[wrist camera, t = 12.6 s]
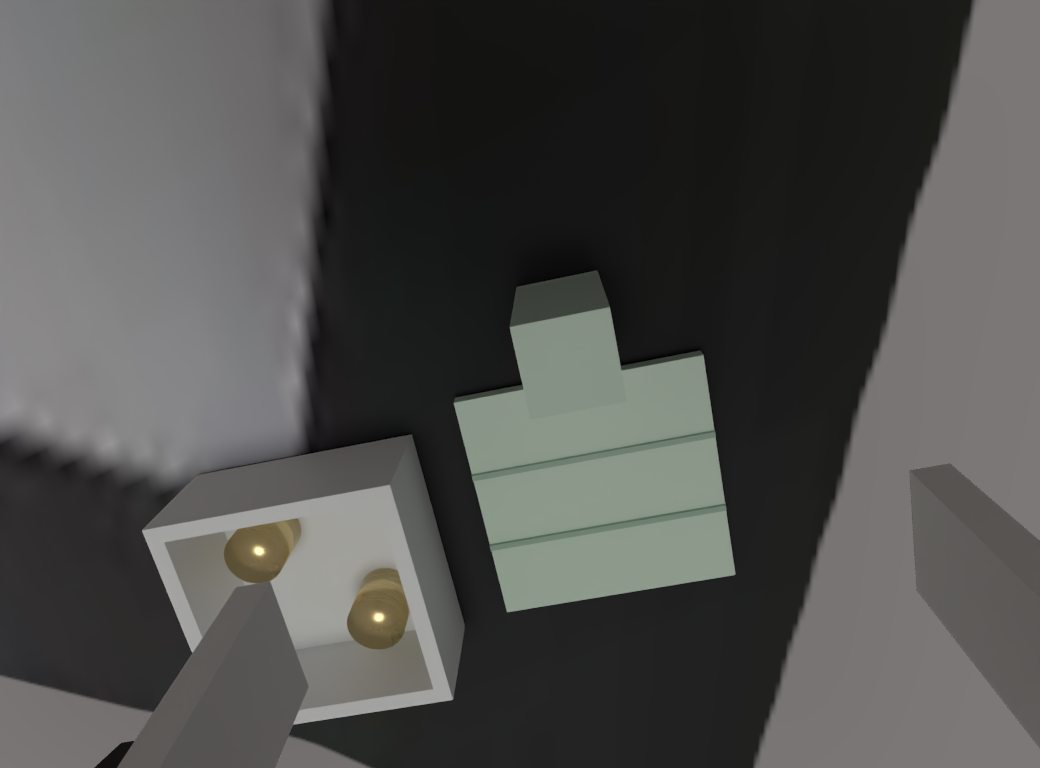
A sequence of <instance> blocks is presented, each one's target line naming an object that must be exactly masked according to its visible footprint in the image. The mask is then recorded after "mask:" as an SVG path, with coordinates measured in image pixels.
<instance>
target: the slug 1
mask: <svg viewBox="0 0 1040 768" xmlns="http://www.w3.org/2000/svg"><path fill="white" fill-rule="evenodd" d="M300 536H301V525H300V522H299V520H298V518H296V519H290V520H285V521H279V522H274V523H268V524H263V525H257V526H252V527H246V528H241V529H237V530H236V531H235V533H234V534H233V535H232V536H231V538H230V539H229V540H228V542H227V543H226V546H225V549H224V559H225V563H226V565H227V567H228V568H229V570H230V571H231V572H232V573H233V574H234V575H235V576H236V577H238V578H239V579H241V580H243V581H246V582H249V583H264V582H268V581H271V580H273V579H274V578H275V577H276V576H277V575H278V574H279V573H280V572H281V570H282V568H283V566H284V565H285V563H286V561H287V560H288V558H289V556H290V555H291V553H292V551H293V550H294V548H295V546H296V545H297V543H298V541H299V539H300Z"/></svg>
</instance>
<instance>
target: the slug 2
mask: <svg viewBox="0 0 1040 768" xmlns="http://www.w3.org/2000/svg"><path fill="white" fill-rule="evenodd" d="M409 613H410V610H409V606H408V603H407V600H406V596H405V593H404V590H403V586H402V583H401V580H400V576H399V573H398V571H397V570H395V569H390V568H380V569H376V570H373V571H371V572H370V573H368V574H367V575H366V576H365V577H364V579H363V580H362V583H361V585H360V587H359V590H358V592H357V595H356V597H355V600H354V602H353V605H352V607H351V610H350V612H349V615H348V618H347V628H348V631H349V633H350V635H351V636H352V638H353V639H354V640H355V641H356V642H357V643H359V644H360V645H362V646H364V647H367V648H370V649H386V648H389V647H392V646H394V645H395V644H397V643H398V642H399V641H400V639H401V638H402V636H403V634H404V631H405V627H406V624H407V620H408V617H409Z"/></svg>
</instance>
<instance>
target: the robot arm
mask: <svg viewBox="0 0 1040 768" xmlns="http://www.w3.org/2000/svg"><path fill="white" fill-rule="evenodd" d="M909 473H910V489H911V505H912V522H913V538H914V555H915V570H916V586H917V591H918V593H919V594H920V595H921V596H922V598H923V599H924V600H925V602H926V603H927V604H928V606H929V607H930V608H931V609H932V611H933V612H934V613H935V615H936V616H937V617H938V618H939V620H940V621H941V622H942V624H943V625H944V626H945V627H946V629H947V630H948V631H949V632H950V634H951V635H952V636H953V638H954V639H955V640H956V642H957V643H958V644H959V645H960V647H961V648H962V649H963V651H964V652H965V653H966V654H967V656H968V657H969V658H970V659H971V661H972V662H973V663H974V665H975V666H976V667H977V668H978V670H979V671H980V672H981V674H982V675H983V676H984V677H985V679H986V680H987V681H988V682H989V684H990V685H991V686H992V688H993V689H994V690H995V691H996V693H997V694H998V695H999V697H1000V698H1001V699H1002V700H1003V702H1004V703H1005V704H1006V706H1007V707H1008V708H1009V710H1010V711H1011V712H1012V713H1013V715H1014V716H1015V717H1016V719H1017V720H1018V721H1019V722H1020V724H1021V725H1022V726H1023V727H1024V729H1025V730H1026V731H1027V732H1028V734H1029V735H1030V737H1031V738H1032V739H1033V740H1034V742H1035V743H1036V744H1037V745H1038V747H1039V748H1040V541H1039V540H1038V539H1037V538H1036V537H1035V536H1033V535H1032V534H1031V533H1030V532H1029V531H1028V530H1027V529H1025V528H1024V527H1023V526H1022V525H1021V524H1019V523H1018V522H1017V521H1016V520H1015V519H1014V518H1013V517H1011V516H1010V515H1009V514H1008V513H1007V512H1006V511H1004V510H1003V509H1002V508H1001V507H1000V506H999V505H998V504H996V503H995V502H994V501H993V500H992V499H991V498H989V497H988V496H987V495H986V494H985V493H984V492H982V491H981V490H980V489H979V488H978V487H977V486H975V485H974V484H973V483H972V482H971V481H970V480H969V479H967V478H966V477H965V476H964V475H963V474H961V473H960V472H959V471H958V470H957V469H956V468H955V467H953V466H952V465H951V464H945V465H939V466H933V467H927V468H921V469H916V470H910V472H909ZM308 687H309V686H308V683H307V680H306V678H305V675H304V672H303V669H302V667H301V664H300V661H299V659H298V656H297V653H296V650H295V648H294V645H293V642H292V639H291V637H290V634H289V631H288V629H287V626H286V623H285V620H284V618H283V615H282V612H281V609H280V607H279V604H278V601H277V599H276V596H275V593H274V590H273V588H272V585H271V582H270V581H269V582H264V583H258V584H252V585H246V586H240V587H236V588H235V590H234V591H233V593H232V594H231V596H230V597H229V599H228V600H227V602H226V603H225V605H224V606H223V608H222V609H221V611H220V612H219V614H218V615H217V617H216V618H215V620H214V621H213V623H212V624H211V626H210V627H209V629H208V631H207V632H206V634H205V635H204V637H203V638H202V640H201V641H200V643H199V644H198V646H197V647H196V649H195V650H194V652H193V653H192V655H191V656H190V658H189V659H188V661H187V662H186V664H185V665H184V667H183V668H182V670H181V671H180V673H179V674H178V676H177V678H176V679H175V681H174V682H173V684H172V685H171V687H170V688H169V690H168V691H167V693H166V694H165V696H164V697H163V699H162V700H161V702H160V703H159V705H158V706H157V708H156V709H155V711H154V712H153V714H152V715H151V717H150V718H149V720H148V722H147V723H146V725H145V726H144V728H143V729H142V731H141V732H140V734H139V735H138V737H137V738H136V740H135V741H131V742H124V743H121V744H120V745H118V747H116V748H115V749H114V750H113V751H112V752H111V753H110V754H109V755H108V756H107V757H105V758H104V759H103V760H102V761H101V762H100V763H99V764H98V765H97V766H96V767H95V768H275V767H276V763H277V762H278V759H279V757H280V754H281V752H282V750H283V747H284V745H285V743H286V740H287V738H288V735H289V733H290V731H291V728H292V726H293V723H294V721H295V719H296V716H297V714H298V711H299V709H300V707H301V704H302V702H303V699H304V697H305V695H306V692H307V690H308Z"/></svg>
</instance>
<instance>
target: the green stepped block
mask: <svg viewBox="0 0 1040 768" xmlns="http://www.w3.org/2000/svg"><path fill="white" fill-rule="evenodd" d="M510 331H511V336H512V340H513V344H514V349H515V353H516V358H517V362H518V367H519V371H520V376H521V380H522V385H518V386H513V387H508V388H503V389H498V390H492V391H487V392H482V393H477V394H472V395H466V396H461V397H456V398H455V400H454V406H455V410H456V414H457V418H458V422H459V426H460V430H461V434H462V437H463V441H464V445H465V449H466V453H467V457H468V461H469V465H470V469H471V473H472V480H473V481H474V484H475V488H476V492H477V496H478V500H479V504H480V508H481V512H482V516H483V520H484V523H485V527H486V531H487V535H488V539H489V543H490V550H491V551H492V555H493V559H494V563H495V567H496V570H497V574H498V578H499V582H500V586H501V590H502V594H503V598H504V602H505V606H506V610H507V612H511V611H518V610H524V609H530V608H536V607H542V606H548V605H554V604H560V603H566V602H572V601H579V600H585V599H591V598H597V597H603V596H609V595H615V594H621V593H627V592H633V591H640V590H646V589H652V588H658V587H664V586H670V585H676V584H682V583H688V582H694V581H701V580H707V579H713V578H719V577H725V576H731V575H735V569H734V562H733V555H732V548H731V541H730V534H729V527H728V520H727V514H726V511H727V510H726V505H725V500H724V493H723V486H722V479H721V472H720V465H719V459H718V452H717V445H716V438H715V437H716V434H715V431H714V424H713V417H712V410H711V403H710V397H709V390H708V383H707V376H706V369H705V362H704V355H703V354H702V352H701V351H695V352H690V353H685V354H679V355H674V356H669V357H664V358H659V359H653V360H648V361H643V362H638V363H633V364H627V365H622V366H620V360H619V355H618V349H617V344H616V338H615V332H614V327H613V321H612V316H611V310H610V306H609V303H608V300H607V297H606V294H605V291H604V288H603V285H602V282H601V280H600V277H599V274H598V271H592V272H587V273H582V274H577V275H572V276H567V277H562V278H558V279H553V280H548V281H543V282H538V283H533V284H528V285H523V286H519V287H517V288H516V293H515V299H514V305H513V311H512V316H511V322H510Z"/></svg>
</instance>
